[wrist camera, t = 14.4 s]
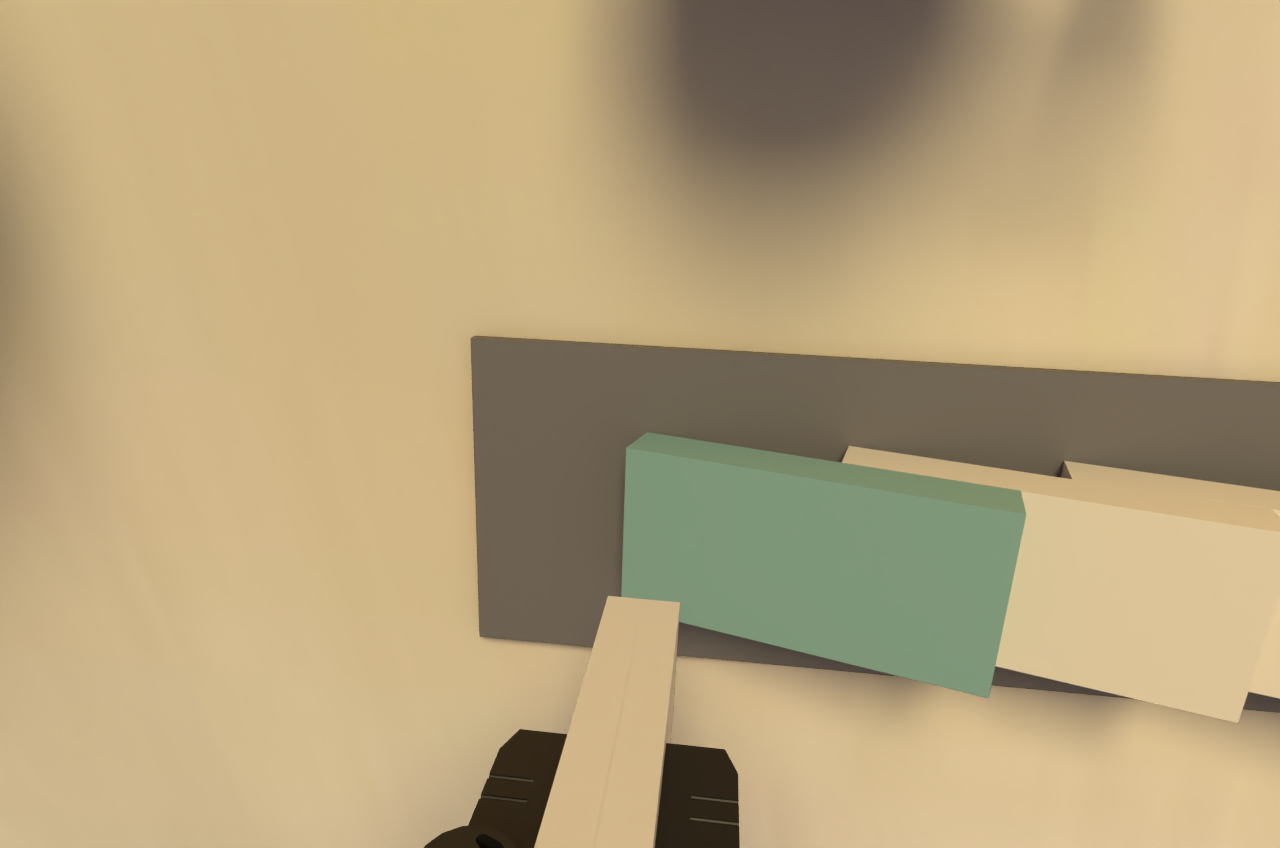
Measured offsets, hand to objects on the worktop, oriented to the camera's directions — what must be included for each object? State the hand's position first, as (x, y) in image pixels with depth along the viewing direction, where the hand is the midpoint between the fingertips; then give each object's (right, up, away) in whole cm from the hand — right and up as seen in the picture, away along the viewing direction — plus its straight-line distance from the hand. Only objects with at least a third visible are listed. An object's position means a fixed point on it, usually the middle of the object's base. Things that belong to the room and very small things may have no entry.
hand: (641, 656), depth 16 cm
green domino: (0, +2, +6) cm, 7 cm away
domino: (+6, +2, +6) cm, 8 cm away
